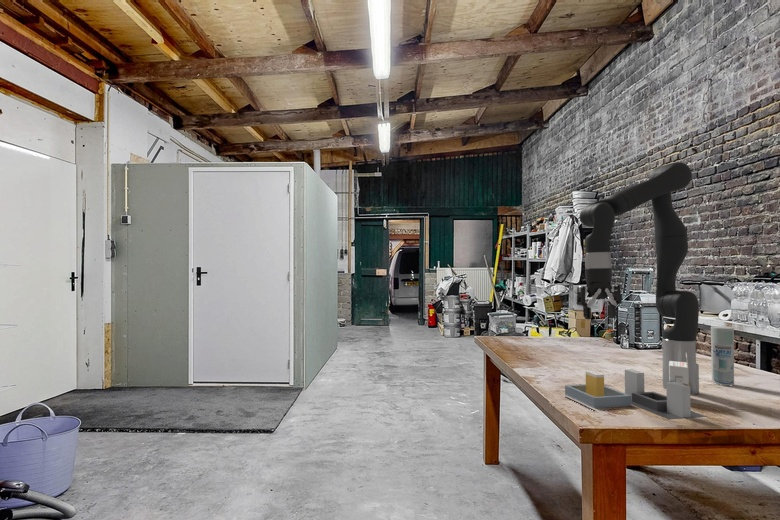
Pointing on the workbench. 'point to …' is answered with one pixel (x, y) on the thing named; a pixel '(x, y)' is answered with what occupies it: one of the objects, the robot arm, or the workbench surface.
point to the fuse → (594, 383)
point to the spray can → (722, 355)
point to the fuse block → (660, 397)
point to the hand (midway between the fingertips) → (599, 318)
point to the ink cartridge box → (679, 372)
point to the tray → (608, 400)
